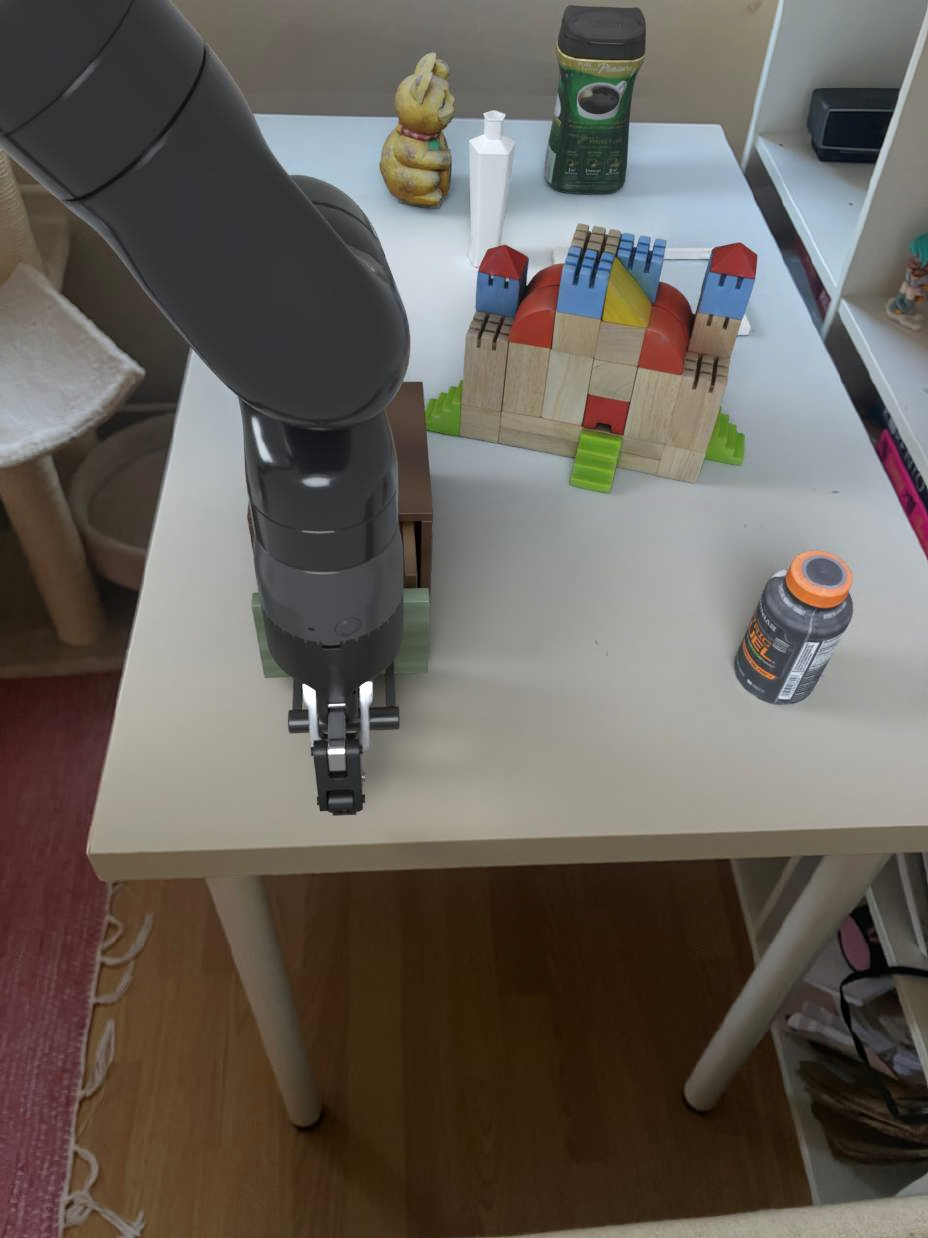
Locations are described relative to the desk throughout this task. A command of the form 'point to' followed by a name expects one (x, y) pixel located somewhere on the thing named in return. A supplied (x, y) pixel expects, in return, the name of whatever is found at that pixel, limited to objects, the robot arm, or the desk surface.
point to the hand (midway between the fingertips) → (345, 749)
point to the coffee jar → (594, 98)
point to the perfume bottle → (489, 185)
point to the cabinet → (409, 473)
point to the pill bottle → (795, 628)
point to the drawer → (406, 661)
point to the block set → (602, 359)
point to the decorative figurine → (420, 137)
